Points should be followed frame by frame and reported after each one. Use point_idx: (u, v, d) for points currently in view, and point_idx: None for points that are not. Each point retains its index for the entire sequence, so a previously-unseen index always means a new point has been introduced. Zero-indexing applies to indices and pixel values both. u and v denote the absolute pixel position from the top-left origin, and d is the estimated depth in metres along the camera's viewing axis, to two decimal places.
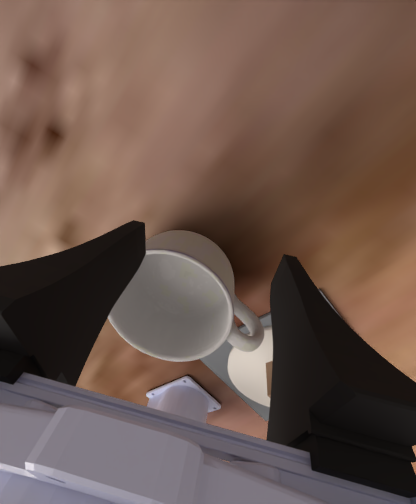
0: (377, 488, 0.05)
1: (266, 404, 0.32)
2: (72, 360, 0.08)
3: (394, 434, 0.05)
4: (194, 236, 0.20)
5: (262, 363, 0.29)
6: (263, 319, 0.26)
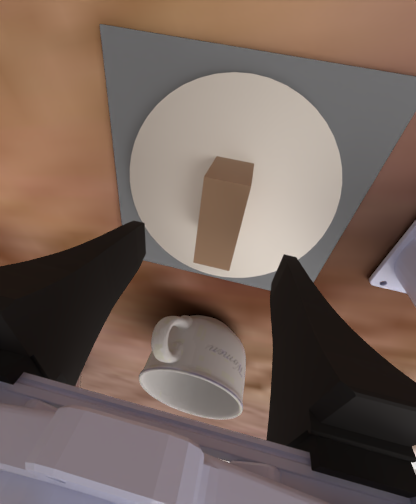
0: (377, 488, 0.05)
1: (335, 161, 0.14)
2: (72, 360, 0.08)
3: (394, 434, 0.05)
4: None
5: (239, 240, 0.19)
6: (192, 269, 0.23)
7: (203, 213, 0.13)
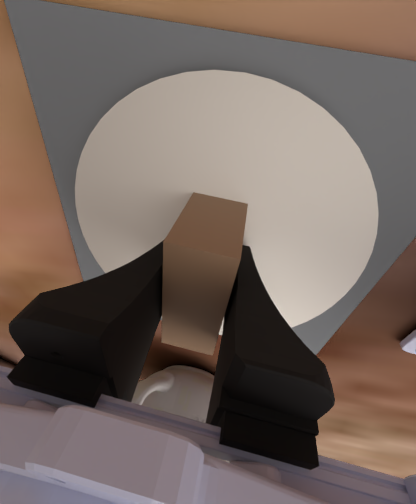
0: (279, 460, 0.06)
1: (368, 204, 0.09)
2: (132, 376, 0.08)
3: (296, 408, 0.06)
4: None
5: None
6: None
7: (168, 288, 0.09)
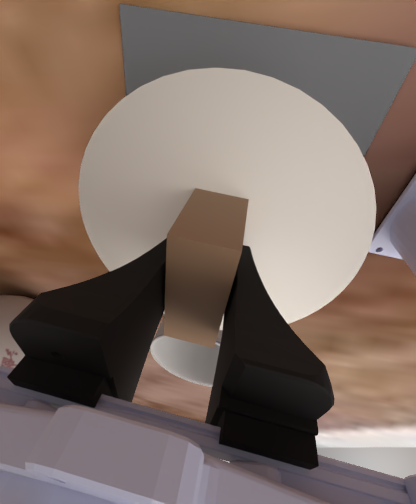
0: (278, 460, 0.06)
1: (367, 199, 0.10)
2: (132, 376, 0.08)
3: (295, 407, 0.06)
4: None
5: None
6: None
7: (171, 281, 0.09)
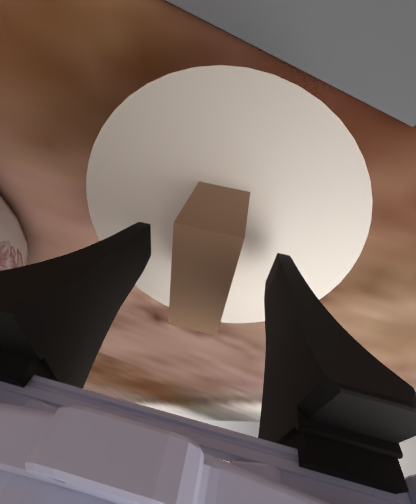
0: (364, 484, 0.05)
1: (363, 192, 0.10)
2: (80, 362, 0.08)
3: (381, 431, 0.05)
4: None
5: (232, 283, 0.15)
6: (260, 42, 0.14)
7: (176, 269, 0.09)
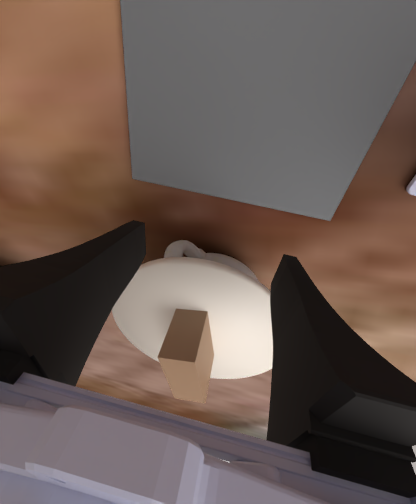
0: (377, 488, 0.05)
1: None
2: (72, 360, 0.08)
3: (394, 434, 0.05)
4: None
5: (218, 356, 0.21)
6: (206, 191, 0.21)
7: (167, 374, 0.16)
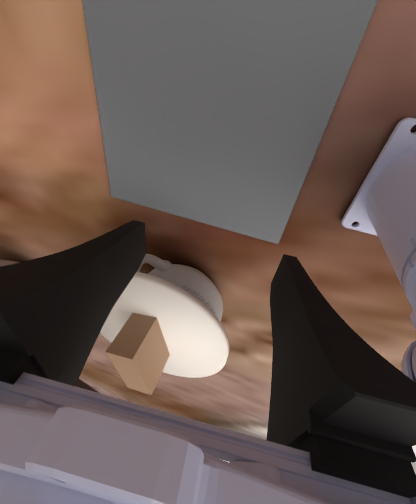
0: (377, 488, 0.05)
1: (205, 319, 0.19)
2: (72, 360, 0.08)
3: (394, 434, 0.05)
4: None
5: (173, 356, 0.24)
6: (171, 211, 0.24)
7: (116, 366, 0.20)
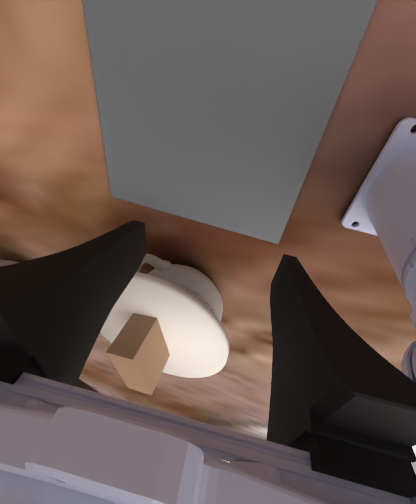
0: (377, 488, 0.05)
1: (206, 320, 0.19)
2: (72, 360, 0.08)
3: (394, 434, 0.05)
4: None
5: (173, 356, 0.24)
6: (171, 211, 0.24)
7: (117, 367, 0.20)
